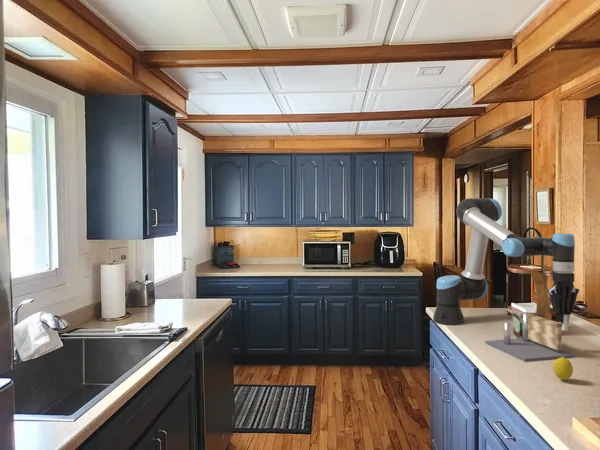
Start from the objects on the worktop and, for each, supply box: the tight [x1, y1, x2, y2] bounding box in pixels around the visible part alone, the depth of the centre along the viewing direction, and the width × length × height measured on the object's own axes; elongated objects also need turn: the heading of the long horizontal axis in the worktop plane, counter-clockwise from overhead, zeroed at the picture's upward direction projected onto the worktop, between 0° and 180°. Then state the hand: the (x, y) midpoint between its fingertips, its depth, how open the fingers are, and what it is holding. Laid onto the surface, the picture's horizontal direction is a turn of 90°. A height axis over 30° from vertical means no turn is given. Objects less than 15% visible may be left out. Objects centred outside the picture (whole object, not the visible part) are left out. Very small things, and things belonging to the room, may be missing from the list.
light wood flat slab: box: [527, 314, 563, 350], centre depth 175 cm, size 16×2×10 cm, turn 11°
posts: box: [503, 311, 531, 345], centre depth 183 cm, size 3×14×13 cm, turn 112°
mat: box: [484, 337, 576, 363], centre depth 176 cm, size 24×22×1 cm
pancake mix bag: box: [530, 270, 553, 321], centre depth 204 cm, size 7×19×28 cm, turn 163°
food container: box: [511, 311, 523, 339], centre depth 194 cm, size 12×6×10 cm, turn 168°
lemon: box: [552, 357, 574, 382], centre depth 143 cm, size 6×6×8 cm
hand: (563, 330), depth 174 cm, fingers closed
